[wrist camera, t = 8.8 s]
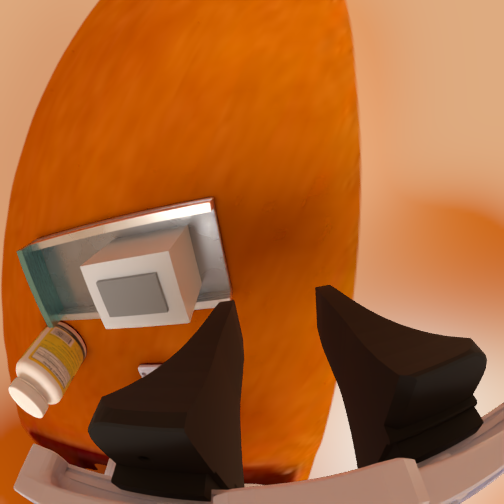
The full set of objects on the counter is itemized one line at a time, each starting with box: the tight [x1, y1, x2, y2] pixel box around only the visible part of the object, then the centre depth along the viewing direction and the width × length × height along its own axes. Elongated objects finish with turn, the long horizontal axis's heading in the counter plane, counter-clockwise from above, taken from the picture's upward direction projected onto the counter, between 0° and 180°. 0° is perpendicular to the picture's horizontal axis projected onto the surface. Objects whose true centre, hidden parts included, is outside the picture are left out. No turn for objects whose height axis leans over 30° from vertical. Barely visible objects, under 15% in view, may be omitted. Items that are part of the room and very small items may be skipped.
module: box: [80, 225, 202, 329], centre depth 17 cm, size 4×6×5 cm
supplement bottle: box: [9, 322, 86, 418], centre depth 19 cm, size 5×5×10 cm
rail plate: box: [17, 196, 233, 328], centre depth 19 cm, size 17×8×3 cm, turn 99°
